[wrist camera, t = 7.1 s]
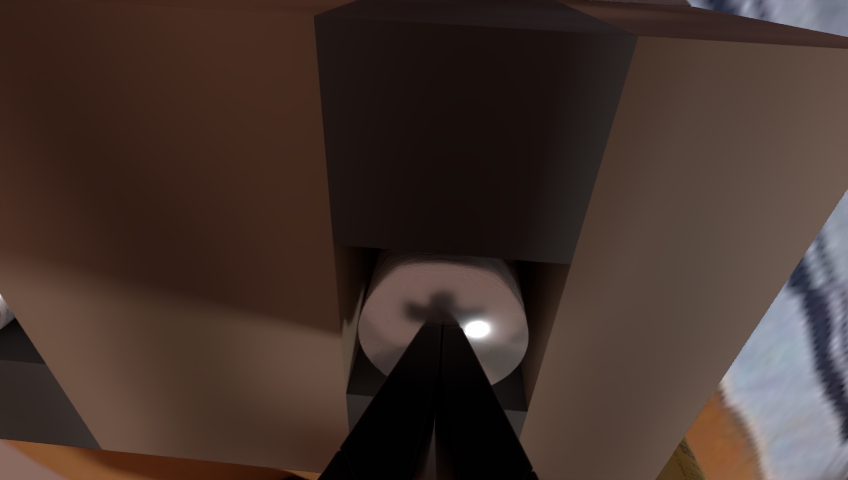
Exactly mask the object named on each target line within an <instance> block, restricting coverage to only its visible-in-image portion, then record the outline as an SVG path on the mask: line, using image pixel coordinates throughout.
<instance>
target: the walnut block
mask: <svg viewBox="0 0 848 480" xmlns="http://www.w3.org/2000/svg"><path fill="white" fill-rule="evenodd" d="M847 189H848V37H845V36H840V35H834V34H829V33H824V32H819V31H814V30H809V29H804V28H799V27H794V26H789V25H784V24H779V23H774V22H768V21H763V20H758V19H753V18H748V17H743V16H738V15H733V14H728V13H723V12H718V11H713V10H707V9H702V8H697V7H689V6H672V5H655V4H638V3H621V2H604V1H587V0H0V294H1V296H2V297H3V299H4V300H5V302H6V303H7V305H8V306H9V308H10V309H11V311H12V313H13V314H14V316H15V318H14V319H13V320H12V321H10V322H9V323H8V324H7V325H5V326H4V327H3V328H2V329H0V439H7V440H17V441H26V442H35V443H45V444H54V445H63V446H73V447H82V448H91V449H101V450H110V451H119V452H129V453H138V454H148V455H157V456H166V457H176V458H185V459H194V460H204V461H213V462H222V463H232V464H241V465H251V466H260V467H269V468H279V469H288V470H297V471H307V472H316V473H322V472H323V471H324V470H325V468H326V467H327V465H328V464H329V462H330V461H331V459H332V458H333V456H334V455H335V453H336V452H337V451H340V446H341V445H342V443H343V442H344V440H345V439H346V437H347V436H348V434H349V433H350V431H351V430H352V428H353V427H354V425H355V424H356V422H357V421H358V419H359V418H360V416H361V415H362V413H363V412H364V411H365V409H366V408H367V406H368V405H369V403H370V402H371V400H372V399H373V397H374V396H375V394H376V393H377V391H378V390H379V388H380V387H381V385H382V384H383V382H384V381H385V379H386V378H387V376H386V375H385V374H383V373H382V372H381V371H380V370H379V369H377V368H376V367H375V366H374V365H373V363H372V362H371V361H370V360H369V358H368V357H367V356H366V354H365V352H364V350H363V348H362V346H361V343H360V340H359V333H358V326H359V320H360V315H361V312H362V309H363V305H364V302H365V298H366V295H367V292H368V288H369V285H370V281H371V278H372V275H373V271H374V268H375V264H376V261H377V258H378V254H379V251H380V248H381V249H393V250H405V251H417V252H429V253H440V254H452V255H464V256H476V257H488V258H500V259H511V260H516V263H517V268H518V274H519V280H520V286H521V292H522V297H523V303H524V309H525V315H526V321H527V326H528V338H529V340H528V346H527V349H526V352H525V355H524V357H523V358H522V360H521V362H520V363H519V365H518V366H517V367H516V368H515V369H514V370H513V371H512V372H511V373H510V374H509V375H508V376H506V377H505V378H503V379H502V380H500V381H498V382H497V383H495V384H493V385H492V387H493V389H494V391H495V393H496V395H497V397H498V399H499V401H500V403H501V405H502V407H503V409H504V411H505V413H506V415H507V417H508V419H509V421H510V423H511V425H512V427H513V429H514V431H515V433H516V435H517V437H518V439H519V441H520V443H521V444H522V446H523V448H524V450H525V452H526V454H527V456H528V458H529V460H530V462H531V464H532V466H533V471H535V472H536V474H537V476H538V478H539V480H656V478H657V477H658V475H659V474H660V472H661V471H662V469H663V468H664V466H665V465H666V463H667V462H668V460H669V459H670V457H671V455H672V454H673V452H674V451H675V449H676V448H677V446H678V445H679V443H680V442H681V440H682V439H683V437H684V436H685V434H686V433H687V431H688V430H689V428H690V427H691V425H692V424H693V422H694V421H695V419H696V418H697V416H698V415H699V413H700V412H701V410H702V409H703V407H704V406H705V404H706V402H707V401H708V399H709V398H710V396H711V395H712V393H713V392H714V390H715V389H716V387H717V386H718V384H719V383H720V381H721V380H722V378H723V377H724V375H725V374H726V372H727V371H728V369H729V368H730V366H731V365H732V363H733V362H734V360H735V359H736V357H737V356H738V354H739V353H740V351H741V349H742V348H743V346H744V345H745V343H746V342H747V340H748V339H749V337H750V336H751V334H752V333H753V331H754V330H755V328H756V327H757V325H758V324H759V322H760V321H761V319H762V318H763V316H764V315H765V313H766V312H767V310H768V309H769V307H770V306H771V304H772V303H773V301H774V300H775V298H776V296H777V295H778V293H779V292H780V290H781V289H782V287H783V286H784V284H785V283H786V281H787V280H788V278H789V277H790V275H791V274H792V272H793V271H794V269H795V268H796V266H797V265H798V263H799V262H800V260H801V259H802V257H803V256H804V254H805V253H806V251H807V250H808V248H809V247H810V245H811V243H812V242H813V240H814V239H815V237H816V236H817V234H818V233H819V231H820V230H821V228H822V227H823V225H824V224H825V222H826V221H827V219H828V218H829V216H830V215H831V213H832V212H833V210H834V209H835V207H836V206H837V204H838V203H839V201H840V200H841V198H842V197H843V195H844V193H845V192H846V190H847ZM435 412H436V411H435ZM424 480H437V479H436V458H435V421H434V430H433V437H432V442H431V448H430V453H429V458H428V463H427V468H426V473H425V478H424Z"/></svg>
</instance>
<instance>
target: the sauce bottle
mask: <svg viewBox="0 0 848 480" xmlns="http://www.w3.org/2000/svg"><path fill="white" fill-rule="evenodd" d="M656 480H707V479H706V477H705V475H704V473H703V471H702V469H701V467H700V465H699V463H698V461H697V459H696V458H695V455H694V453H693V451H692V449H691V447H690V445H689V443H688V441H687V439H686V437H685V436H684V437H683V439H682V440H681V442H680V443H679V445H678V446H677V448H676V449H675V451H674V452H673V454H672V455H671V457H670V459H669V460H668V462H667V463H666V465H665V466H664V468H663V469H662V471H661V472H660V474H659V475H658V477H657V478H656Z"/></svg>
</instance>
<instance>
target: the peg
mask: <svg viewBox="0 0 848 480" xmlns="http://www.w3.org/2000/svg"><path fill="white" fill-rule="evenodd" d="M423 324H436V325H441V327H442V328H443V326H445V325H447V326H458V327H461V328H462V329H463V330H464V332H465V334H466V336H467V338H468V340H469V342H470V344H471V346H472V348H473V350H474V352H475V353H476V355H477V357H478V359H479V361H480V363H481V365H482V367H483V369H484V371H485V373H486V375H487V377H488V379H489V381H490V383H491V385H493V384H495V383H497V382H498V381H500V380H502V379H503V378H505V377H506V376H508V375H509V374H510V373H511V372H512V371H513V370H514V369H515V368H516V367H517V366H518V365H519V363H520V362H521V360H522V358H523V357H524V355H525V352H526V349H527V346H528V340H529V338H528V326H527V321H526V315H525V309H524V303H523V297H522V292H521V286H520V280H519V274H518V268H517V263H516V260H511V259H500V258H488V257H476V256H464V255H452V254H440V253H429V252H417V251H405V250H393V249H381V248H380V251H379V254H378V258H377V261H376V264H375V268H374V271H373V275H372V278H371V281H370V285H369V288H368V292H367V295H366V298H365V302H364V305H363V309H362V312H361V315H360V320H359V326H358V333H359V340H360V343H361V346H362V348H363V350H364V352H365V354H366V356H367V357H368V358H369V360H370V361H371V362H372V363H373V365H374V366H375V367H376V368H377V369H379V370H380V371H381V372H382V373H383V374H385V375H386V376H388V375H389V373H390V372H391V370H392V369H393V367H394V366H395V364H396V363H397V361H398V360H399V358H400V357H401V355H402V354H403V352H404V351H405V349H406V348H407V346H408V345H409V344H410V342H411V341H412V339H413V338H414V336H415V335H416V333H417V332H418V330H419V329H420V327H421V326H422V325H423Z"/></svg>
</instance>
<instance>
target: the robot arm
mask: <svg viewBox="0 0 848 480" xmlns="http://www.w3.org/2000/svg"><path fill="white" fill-rule="evenodd" d="M435 411H436V412H435ZM434 421H435V458H436V479H437V480H539V478H538V476H537V474H536V472H535V471H533V466H532V464H531V462H530V460H529V458H528V456H527V454H526V452H525V450H524V448H523V446H522V444H521V443H520V441H519V439H518V437H517V435H516V433H515V431H514V429H513V427H512V425H511V423H510V421H509V419H508V417H507V415H506V413H505V411H504V409H503V407H502V405H501V403H500V401H499V399H498V397H497V395H496V393H495V391H494V389H493V387H492V385H491V383H490V381H489V379H488V377H487V375H486V373H485V371H484V369H483V367H482V365H481V363H480V361H479V359H478V357H477V355H476V353H475V352H474V350H473V348H472V346H471V344H470V342H469V340H468V338H467V336H466V334H465V332H464V330H463V329H462V328H461V327H458V326H447V325H445V326H443V328H442V327H441V325H436V324H423V325H422V326H421V327H420V329H419V330H418V332H417V333H416V335H415V336H414V338H413V339H412V341H411V342H410V344H409V345H408V346H407V348H406V349H405V351H404V352H403V354H402V355H401V357H400V358H399V360H398V361H397V363H396V364H395V366H394V367H393V369H392V370H391V372H390V373H389V375H388V376H387V378H386V379H385V381H384V382H383V384H382V385H381V387H380V388H379V390H378V391H377V393H376V394H375V396H374V397H373V399H372V400H371V402H370V403H369V405H368V406H367V408H366V409H365V411H364V412H363V413H362V415H361V416H360V418H359V419H358V421H357V422H356V424H355V425H354V427H353V428H352V430H351V431H350V433H349V434H348V436H347V437H346V439H345V440H344V442H343V443H342V445H341V446H340V451H337V452H336V453H335V455H334V456H333V458H332V459H331V461H330V462H329V464H328V465H327V467H326V468H325V470H324V471H323V472H322V474H321V475H320V477H319V478H318V479H317V480H424V478H425V473H426V468H427V463H428V458H429V453H430V448H431V442H432V437H433V430H434ZM286 480H298V479H295V478H288V479H286Z"/></svg>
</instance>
